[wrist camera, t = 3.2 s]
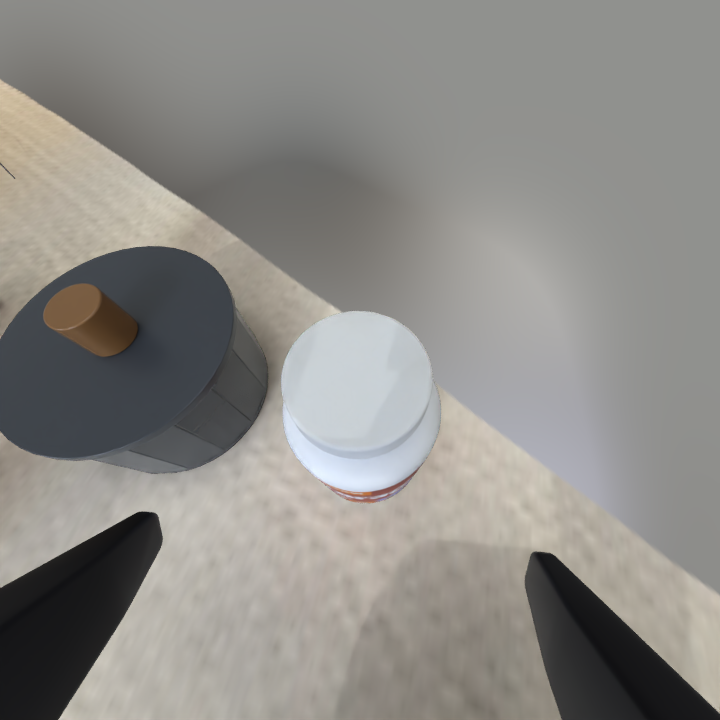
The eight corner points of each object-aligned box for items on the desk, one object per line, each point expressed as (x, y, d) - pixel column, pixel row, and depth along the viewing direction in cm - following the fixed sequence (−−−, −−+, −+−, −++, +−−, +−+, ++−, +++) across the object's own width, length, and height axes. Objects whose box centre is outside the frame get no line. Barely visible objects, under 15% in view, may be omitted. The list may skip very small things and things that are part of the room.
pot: (294, 416, 21) (263, 376, 15) (121, 509, 19) (11, 503, 14) (236, 296, 26) (195, 230, 20) (90, 361, 24) (-1, 310, 18)
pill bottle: (318, 511, 19) (249, 495, 9) (312, 406, 21) (254, 303, 11) (429, 496, 19) (485, 464, 9) (408, 393, 21) (434, 280, 12)
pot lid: (276, 383, 16) (250, 347, 13) (17, 516, 14) (-93, 513, 11) (203, 232, 21) (171, 178, 17) (3, 314, 19) (-76, 270, 15)
